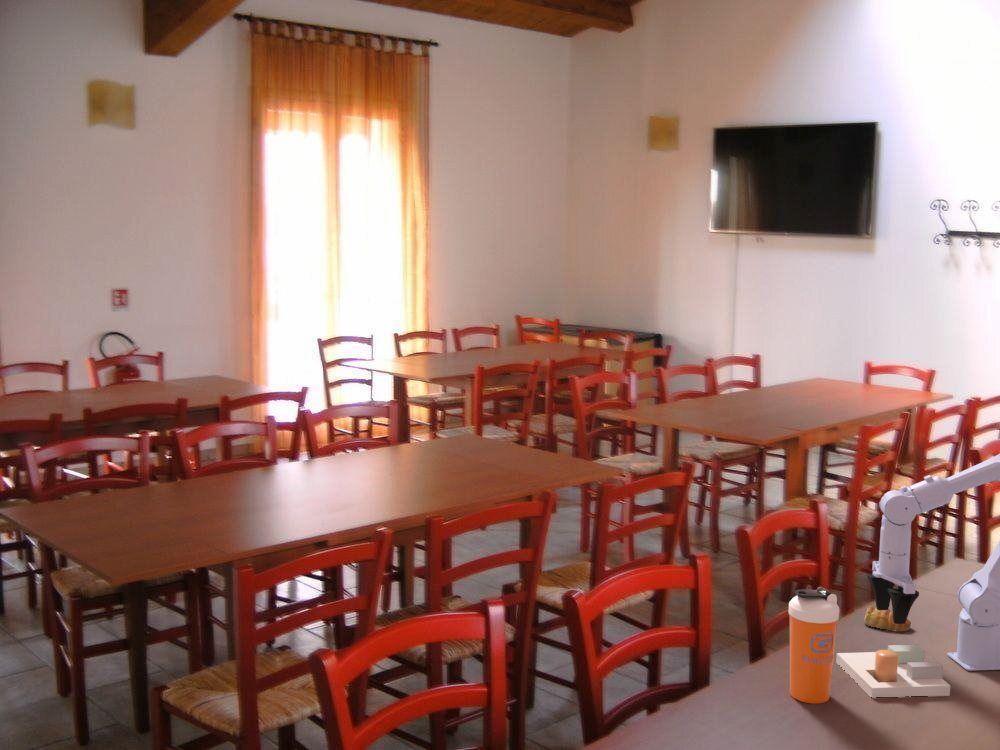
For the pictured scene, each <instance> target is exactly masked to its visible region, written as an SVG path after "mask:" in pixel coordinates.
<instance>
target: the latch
mask: <svg viewBox="0 0 1000 750" xmlns="http://www.w3.org/2000/svg"><path fill="white" fill-rule="evenodd" d="M887 650H890V651H893V652H895V653H897V654H898V664H903V663H908V662H925V653H926V652H925V649H923V648H922V647H921V646H919V645H918V644H896V645H895V644H891V645H888V644H887Z"/></svg>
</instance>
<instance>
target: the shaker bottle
mask: <svg viewBox="0 0 1000 750" xmlns="http://www.w3.org/2000/svg"><path fill="white" fill-rule="evenodd" d="M794 594H795V596H794V597H792V599H791V600H789V602H788V612H787V613H788V615H789V694H790V696H791V697H792V698H793V699H795V700H797V701H799V702H802V703H807V704H814V705H816V704H823V703H826V702H828V701H829V700H830V697H831V695H830V694H831V688H832V687H831V686H832V678H833V677H832V676H833V669H834V668H833V667H834V659H835V658H834V657H835V648H836V638H837V629H838V628H837V627H838V621H839V619H840V606H839V605H838V604H837V602H838V596H837V595H836V594H835V593H833V592H832V591H830V590H829V589H827V588H824V587H822V586H818V587H817V589H805V588H804V589H796V590H795V591H794Z"/></svg>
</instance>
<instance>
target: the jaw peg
mask: <svg viewBox="0 0 1000 750" xmlns="http://www.w3.org/2000/svg"><path fill="white" fill-rule="evenodd" d="M875 652H876V656H875V673H874V679H875V680H876V681H877V682H878V683H880V682H897V668H898V654H897V653H895V652H893V651H890V650H888V649H878V650H876V651H875Z"/></svg>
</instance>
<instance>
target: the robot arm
mask: <svg viewBox="0 0 1000 750" xmlns="http://www.w3.org/2000/svg"><path fill="white" fill-rule="evenodd" d="M923 479H924V480H922V481H919V482H916V483H913V484H912V485H909V486H907V485H903V486H901V487H900V490H899V489H898V490H897V489H893V490H890V491H887V492H886V493H884V494H883V496H882V497H881V498H880V501H879V502H878V506H879V510H880V511H881V512H882V515H881V518H882V519H881V527H880V536H879V537H880V538H879V552H878V553H879V554H878V556H879V557H878V560H873V561H872V568H871V569H872V573H868V574H867V578H868V581H869V582H870V585H871V587H872V591H873V597H874V601H875V606H876V607H875V608H877V610H888V609H889V608H890V604H891V608H892V610H891V611H893V621H894V623H895V624H905V622H906V620H907V619H908V616H909V613H910V611H911V608H912V606H913V604H914V602H915V601H916V600H917V599H918V598H919V596H920V591H918V590H916V583H914V582H913V579H912V576H911V573H910V563H911V562H910V560H911V559H910V558H911V545H912V544H911V543H912V541H911V540H912V522H913V521H914V519H915V518H916V516H917V515H921V514H923V513H926V512H928V511H931V510H933V509H937V508H939V507H942V506H944V505H947V504H949V503H951V501H952V500H953V497H954V495H955V494H958V493H962V492H964V491H968V490H970V489H973V488H976V487H979V486H981V485H982V486H983V485H985V484H988V483H991V482H993V481H996V482H997V481H999V482H1000V453H998V454H997V455H995V456H993V457H991V458H989V459H987V460H984V461H982V462H980V463H977V464H976V465H973V466H970V467H969V468H966V469H964V470H962V471H959V472H958V473H955V474H952V475H951V476H949V477H942V476H939V475H935V476H931V475H930V474H929V475H924V476H923ZM895 585H896V586H897V588H894V587H895ZM957 599H958V602H959V603H960V605H961V606H962V609H961V610H960V613H959V617H958V626H957V627H958V628H957V643H956V651H955V652H953V651H952V652H950V651H949V652H947V656H948V657H949V658H951V660H953V661H954V662H956V663H957V665H960V666H961V667H962V668H963V669H964V670H966V671H972V672H974V671H996V670H998V671H1000V540H998V542H997V544H996V546H995V547H994V549H993V550H992V552H991V554H990V556H989V557H988V559H987V561H986V562H985V564H984V566H983V568H981V569H979V570H977V571H975V572H974V573H973V575H972V576H971V578H970V579H969V580H967V581H966V582H964V583H963V584H962V585H961V586H960V587H959V589H958V591H957Z"/></svg>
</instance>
